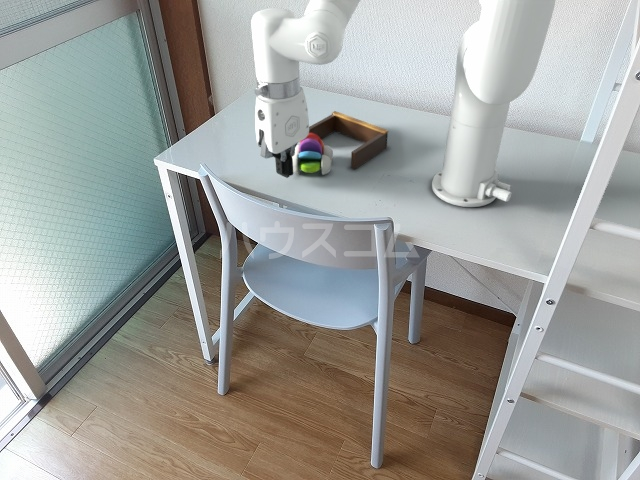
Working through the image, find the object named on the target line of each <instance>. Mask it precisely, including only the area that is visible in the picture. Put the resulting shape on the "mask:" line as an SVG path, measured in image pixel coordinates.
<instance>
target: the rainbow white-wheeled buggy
mask: <svg viewBox="0 0 640 480" xmlns="http://www.w3.org/2000/svg"><path fill="white" fill-rule="evenodd" d="M292 158H293V174H294V175H299V174H300V171H302V172H304V173H309V174H310V173H311V174H312V173H316V172H319V171H321V175H323V176H324V175H327V174H329V173H330V172H331V170H332V161H333V158H334V151H333V149H332V147H331V146H329V145H327V144H324V142H323V140H322V139H320V137H319V136H318V135H316V134H314V133H309V134H308V136H307V137H306V138H305V139H303V140H302V141H300V142H299V143H298V144H297V145H296V147H295V154H294V156H293V157H292Z"/></svg>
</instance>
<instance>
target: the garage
mask: <svg viewBox="0 0 640 480" xmlns="http://www.w3.org/2000/svg"><path fill="white" fill-rule="evenodd" d="M335 132H337V133H339V134H342V135H344V136H347V137H349V138H352V139H354V140H357V141H359V142H362V143H363V144H362V145H360V146H358V147H357V148H355V149H353V150H352V151H351V153H350V169H351V170H353V171H355V170H357V169H358V168H360V167H361V166H363V165H364V164H366V163H367V162H369V161H370V160H372V159H373V158H375V157H376V156H378V155H379V154H381V153H382V152H384V151H386V150H387V148H388V137H389V130H388V129H386V128H384V127H381V126H377V125H376V124H372V123H369V122H367V121H364V120H362V119H359V118H355V117H353V116H350V115H347V114H344V113H342V112H339V111H336V110H334V111H332V112H331V114H330V115H328V116H327V117H325V118H323V119H321V120H319V121H317V122H315V123H314V124H312V125H309V133H314V134H316V135H318V136H319V137H320V139H321V140H322V139H324V138H326V137H328V136H329V135H331V134H333V133H335Z"/></svg>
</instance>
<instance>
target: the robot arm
mask: <svg viewBox="0 0 640 480" xmlns="http://www.w3.org/2000/svg"><path fill="white" fill-rule="evenodd" d="M360 2H361V0H309V3H308V4H307V6H306V9H305V11H304V13H303V15H302V16H301V17H297V15H296V14H295V13H294V12H293V11H291V10H290V9H287V8H282V7H269V8H264V9H261V10H258V11H256V12H255V13H254V14H253V15H252V18H251V22H250V23H251V35H252V37H251V38H252V46H253V47H252V48H253V56H254V65H255V76H256V88H254V94H255V95H256V97H255V98H256V99H255V108H254V110H255V112H254V113H255V114H254V124H255V125H254V126H255V136H256V144H257V146H258V148H260V157H261V158H264V159H266V160H267V159H270V158H274V159H275V161H274V162H275V171H276V174H278V175H280V176H282V177H284V178H286V179H288V178H290V177H292V176H293V175H294V173H293V158H292V157H293V156H294V154H295V147H296V145H298V144H299V143H300V141H302V140H303V139H305V138H306V137H307V136H308V134H309V127H310V121H309V120H310V119H309V111H308V104H307V103H308V102H307V99H306V94H305V91H304V88H303V87H302V86H301V75H300V63H306V64H310V65H318V66H323V65H327V64H330V63H332V62H334V61H335V60H336V59H337V58H339V56H340V54H341V52H342V48H343V44H344V38H345V31H346V28H347V26H348V24H349V23H350V21H351V18H352V17H353V14H354V12H355V11H356V9H357V7H358V6H359V4H360ZM478 2H479V4H480V6H481V12H480V17H479V20H477V21H476V22H474V23H472V25H470V26H469V28H467V30H466V31H465V32H464V33H463V35H462V36H461V37H462V38H461V39H460V42H459V45H458V49H457V55H456V67H455V78H454V79H455V80H454V87H453V88H454V89H453V98H452V104H451V111H450V116H449V123H448V129H447V136H446V141H445V148H444V154H443V155H444V156H443V162H442V168H441V171H438V172H437V173H436V174H435V175H434V176H433V178H432V181H431V189H432V192H433V193H434V194H435V195H436V197H438V198H439V199H441V200H442V201H444V202H446V203H448V204H451V205H454V206H458V207H463V208H478V207H483V206H486V205H490V204H491V203H492V202H494V201H495V200H496V199H498V200H500V201H504V202H505V203H508V202H509V201H510V200H511V197H512V194H513V193H512V191H510V190H511V187H512V185H511V184H507V183H505V182H501V181H500V179H499V175H500V172H499V171H498V170H496V166H497V161H498V158H499V153H500V148H501V143H502V139H503V134H504V130H505V126H506V122H507V118H508V115H509V109H510V106H511V105H510V103H511V102H513V101H514V100H517V99H518V98H519V97H520V96H521V95H522V94H524V93H525V91H526V90H527V89H528V87H529V86H530V84H531V82H532V80H533V78H534V75H535V74H536V71H537V67H538V64H539V61H540V58H541V55H542V52H543V49H544V45H545V41H546V38H547V34H548V31H549V28H550V24H551V22H552V21H551V20H552V17H553V14H554V10H555V7H556V0H478Z"/></svg>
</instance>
